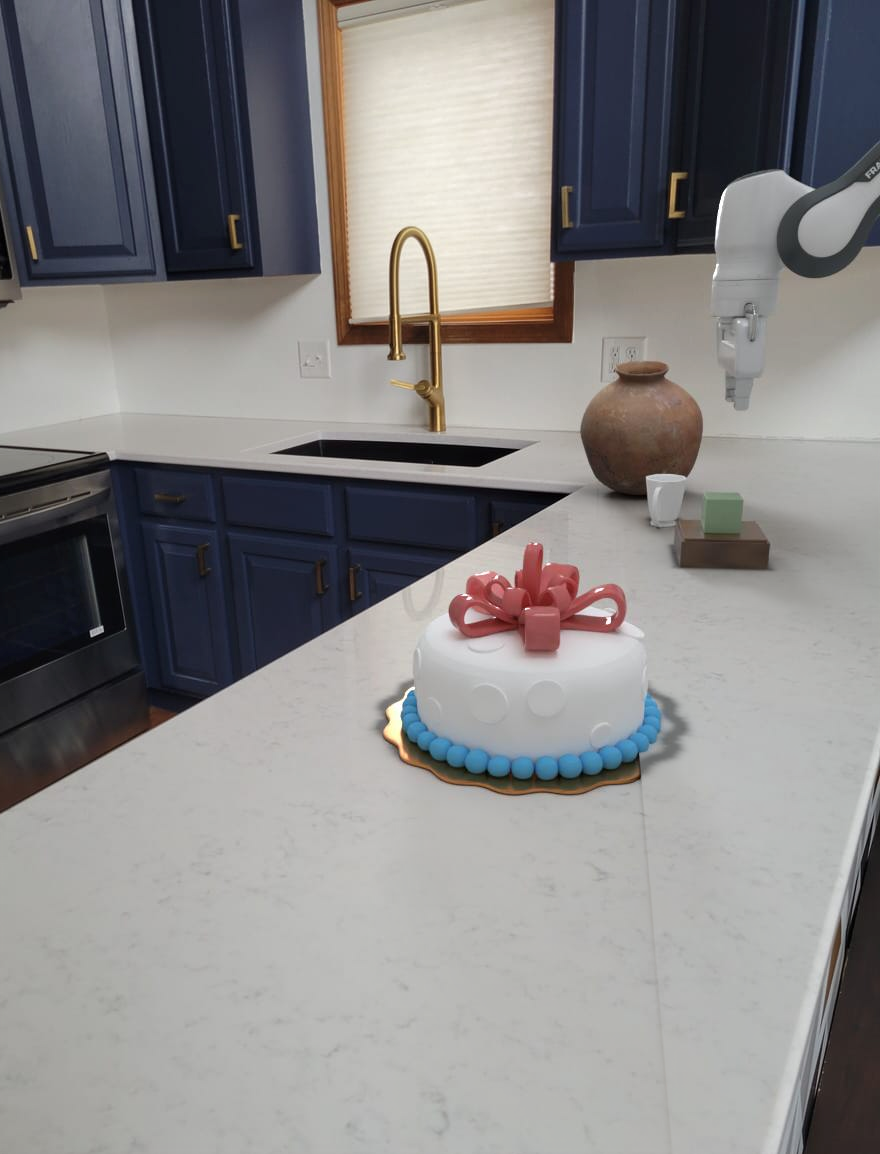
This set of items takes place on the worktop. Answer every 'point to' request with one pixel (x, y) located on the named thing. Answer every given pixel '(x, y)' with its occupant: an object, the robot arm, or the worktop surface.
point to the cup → (665, 498)
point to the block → (722, 512)
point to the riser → (720, 547)
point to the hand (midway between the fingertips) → (736, 405)
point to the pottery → (641, 428)
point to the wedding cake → (528, 687)
